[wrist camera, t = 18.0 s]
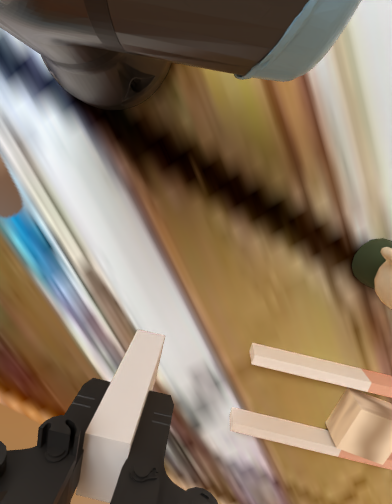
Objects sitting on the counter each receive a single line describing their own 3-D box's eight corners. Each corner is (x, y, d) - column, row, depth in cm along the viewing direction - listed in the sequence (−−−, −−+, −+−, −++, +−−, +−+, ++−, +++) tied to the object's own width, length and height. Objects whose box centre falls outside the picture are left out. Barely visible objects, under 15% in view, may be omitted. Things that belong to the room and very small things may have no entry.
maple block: (324, 421, 45) (336, 447, 41) (346, 385, 43) (361, 409, 39) (366, 437, 45) (382, 464, 41) (390, 402, 44) (409, 427, 39)
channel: (229, 414, 46) (230, 430, 43) (252, 342, 42) (254, 354, 39) (393, 454, 45) (405, 473, 43) (429, 384, 42) (445, 400, 39)
